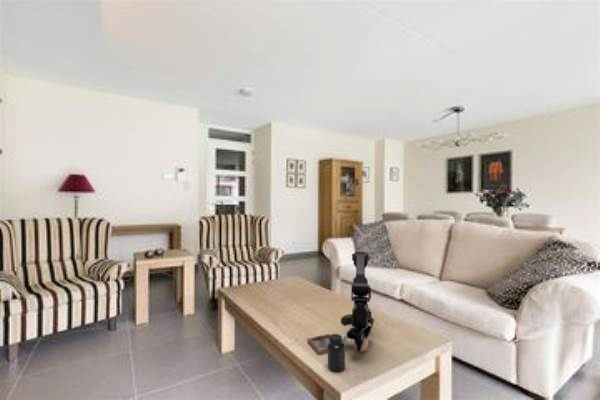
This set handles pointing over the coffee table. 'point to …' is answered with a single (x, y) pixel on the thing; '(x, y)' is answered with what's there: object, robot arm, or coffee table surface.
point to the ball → (363, 345)
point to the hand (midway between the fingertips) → (361, 346)
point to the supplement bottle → (336, 353)
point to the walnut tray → (319, 343)
